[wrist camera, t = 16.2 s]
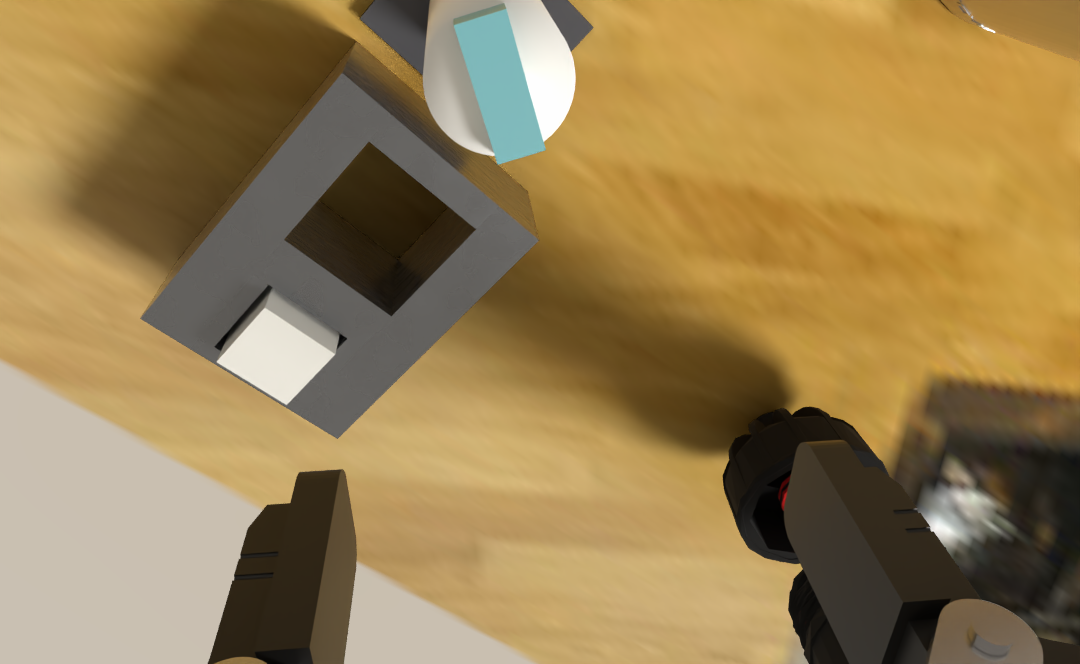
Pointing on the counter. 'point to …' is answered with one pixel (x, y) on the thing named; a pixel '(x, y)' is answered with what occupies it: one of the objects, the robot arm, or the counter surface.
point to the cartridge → (497, 75)
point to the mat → (406, 19)
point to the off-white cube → (278, 345)
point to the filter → (759, 506)
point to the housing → (349, 243)
